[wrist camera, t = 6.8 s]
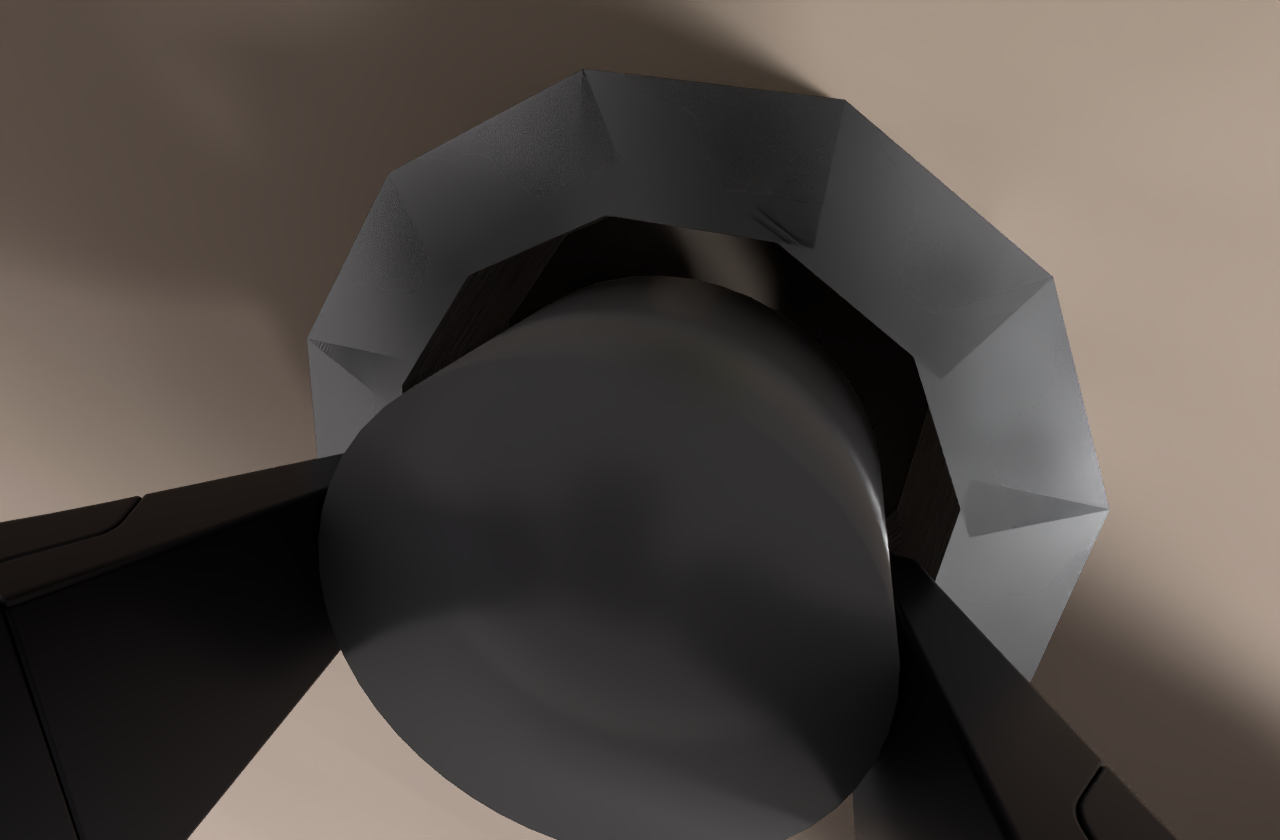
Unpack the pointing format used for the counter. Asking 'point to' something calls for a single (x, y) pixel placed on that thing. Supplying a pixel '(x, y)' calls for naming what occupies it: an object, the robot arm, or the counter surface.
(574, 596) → the cap
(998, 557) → the ring mount
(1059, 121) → the counter surface
